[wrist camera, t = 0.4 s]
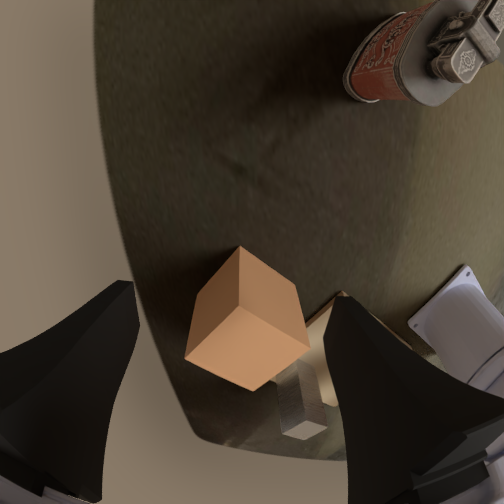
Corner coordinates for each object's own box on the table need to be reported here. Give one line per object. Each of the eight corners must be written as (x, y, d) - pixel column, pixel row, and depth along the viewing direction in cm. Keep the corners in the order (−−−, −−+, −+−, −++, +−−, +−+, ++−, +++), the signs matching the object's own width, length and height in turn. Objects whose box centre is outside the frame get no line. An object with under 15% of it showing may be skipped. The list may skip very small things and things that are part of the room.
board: (410, 345, 26) (413, 349, 26) (333, 402, 30) (334, 406, 29) (342, 290, 22) (344, 295, 22) (252, 366, 26) (252, 371, 26)
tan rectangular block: (294, 284, 22) (311, 348, 16) (250, 326, 24) (253, 391, 18) (239, 245, 20) (238, 305, 15) (197, 294, 22) (184, 358, 16)
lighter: (370, 113, 16) (475, 133, 7) (330, 79, 15) (417, 60, 6) (429, 39, 13) (534, 25, 5) (394, 5, 12) (490, -36, 4)
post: (314, 367, 26) (328, 427, 20) (294, 381, 27) (304, 440, 21) (295, 356, 25) (306, 420, 19) (275, 371, 26) (281, 433, 20)
